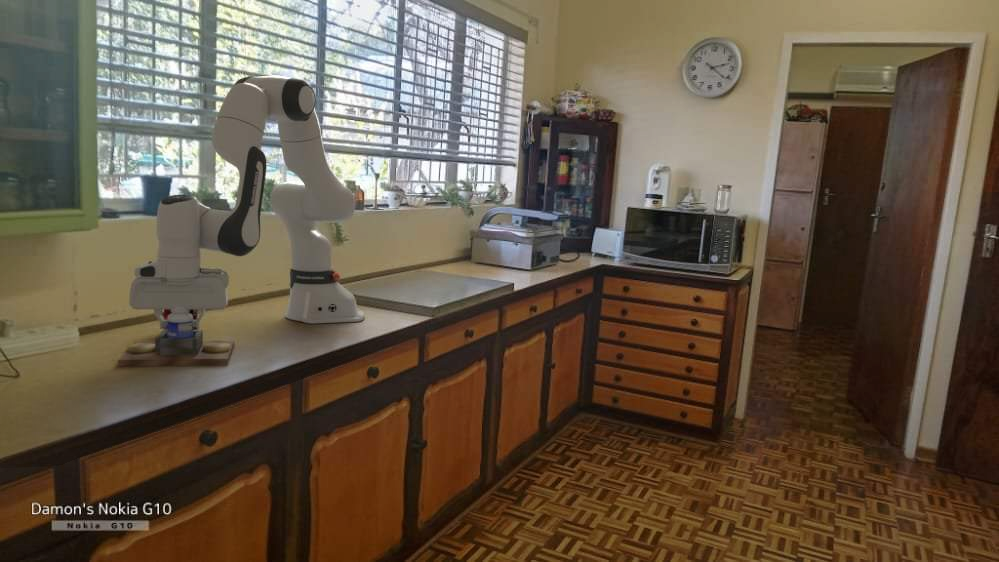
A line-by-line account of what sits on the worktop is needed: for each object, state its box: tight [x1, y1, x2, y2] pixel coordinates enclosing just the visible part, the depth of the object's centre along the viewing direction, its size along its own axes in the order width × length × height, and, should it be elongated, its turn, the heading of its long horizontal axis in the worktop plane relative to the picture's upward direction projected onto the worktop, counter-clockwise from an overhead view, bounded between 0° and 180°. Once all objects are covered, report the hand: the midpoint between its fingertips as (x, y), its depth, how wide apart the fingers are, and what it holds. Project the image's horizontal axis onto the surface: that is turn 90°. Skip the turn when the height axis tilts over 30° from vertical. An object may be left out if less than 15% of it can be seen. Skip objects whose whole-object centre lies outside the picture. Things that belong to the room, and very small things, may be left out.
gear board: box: [117, 329, 236, 368], centre depth 164 cm, size 22×16×5 cm
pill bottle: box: [167, 307, 193, 338], centre depth 163 cm, size 5×5×10 cm
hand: (180, 328), depth 163 cm, fingers closed on pill bottle, 5 cm apart
